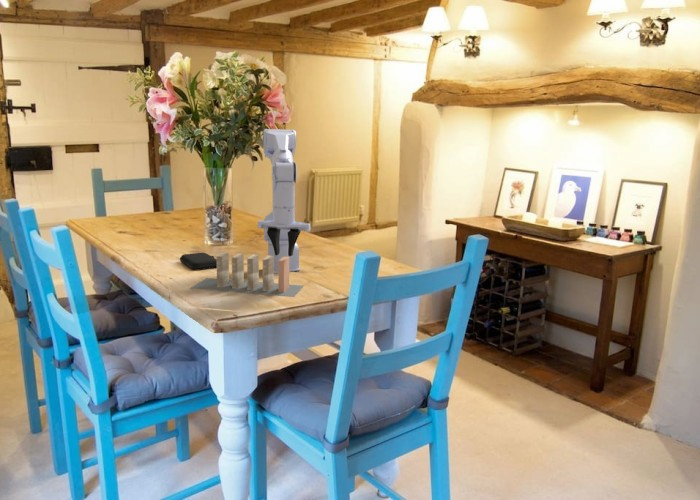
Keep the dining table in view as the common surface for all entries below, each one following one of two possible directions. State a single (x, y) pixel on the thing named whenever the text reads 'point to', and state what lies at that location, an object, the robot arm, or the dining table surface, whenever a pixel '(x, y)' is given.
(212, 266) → the carrying case or bag
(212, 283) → the slate runway mat
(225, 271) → the beige wooden block
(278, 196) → the robot arm
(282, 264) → the terracotta domino
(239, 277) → the ivory domino
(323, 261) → the dining table surface
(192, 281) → the dining table surface
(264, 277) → the wooden block
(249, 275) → the wooden block
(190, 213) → the dining table surface
